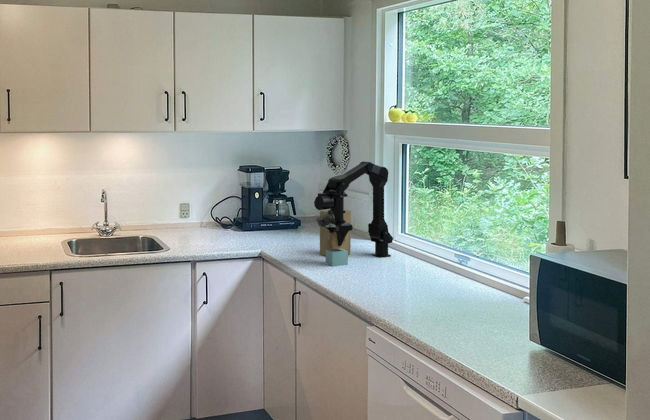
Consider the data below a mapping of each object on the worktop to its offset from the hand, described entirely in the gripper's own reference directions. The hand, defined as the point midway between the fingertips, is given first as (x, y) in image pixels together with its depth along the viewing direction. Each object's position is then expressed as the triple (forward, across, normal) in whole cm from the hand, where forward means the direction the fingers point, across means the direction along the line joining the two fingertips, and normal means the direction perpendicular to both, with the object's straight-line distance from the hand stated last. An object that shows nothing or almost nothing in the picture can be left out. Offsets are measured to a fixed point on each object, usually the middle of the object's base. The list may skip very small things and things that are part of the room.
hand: (336, 244), depth 339 cm
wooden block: (+8, -19, +8) cm, 22 cm away
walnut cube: (+1, 0, 0) cm, 1 cm away
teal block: (+8, 0, 0) cm, 8 cm away
